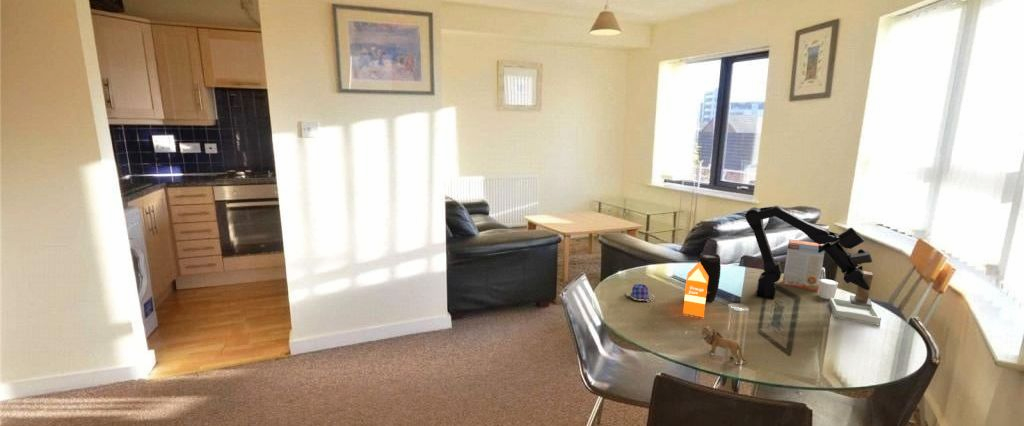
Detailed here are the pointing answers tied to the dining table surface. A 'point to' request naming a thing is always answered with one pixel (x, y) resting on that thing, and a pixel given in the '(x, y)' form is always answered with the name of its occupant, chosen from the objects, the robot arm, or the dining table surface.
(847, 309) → the tray
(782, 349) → the dining table surface
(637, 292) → the plaid hat
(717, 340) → the lion figurine
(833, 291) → the white cylinder
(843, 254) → the robot arm
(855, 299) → the wooden post with base
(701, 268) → the orange juice
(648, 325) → the dining table surface
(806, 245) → the cracker box
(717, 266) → the black tall cylinder
